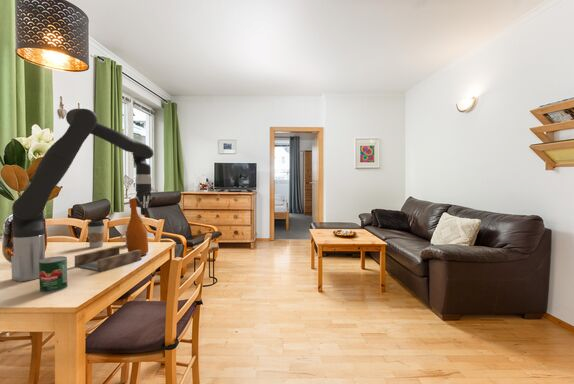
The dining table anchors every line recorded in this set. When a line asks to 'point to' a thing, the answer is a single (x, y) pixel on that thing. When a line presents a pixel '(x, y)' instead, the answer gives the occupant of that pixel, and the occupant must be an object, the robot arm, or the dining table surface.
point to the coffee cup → (95, 233)
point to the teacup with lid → (125, 237)
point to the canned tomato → (53, 274)
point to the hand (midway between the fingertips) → (144, 214)
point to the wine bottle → (136, 231)
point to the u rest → (106, 259)
